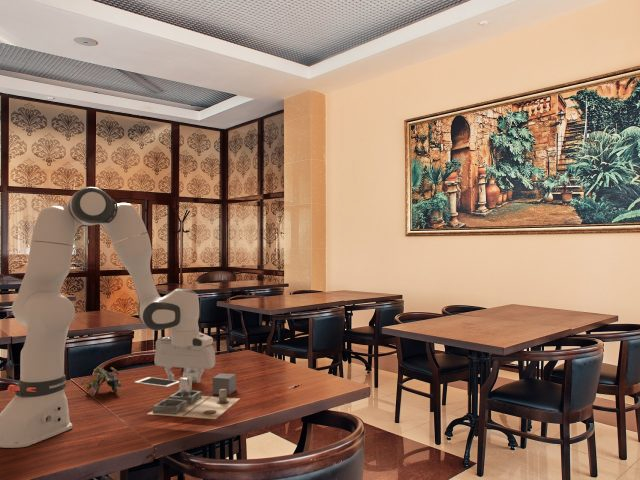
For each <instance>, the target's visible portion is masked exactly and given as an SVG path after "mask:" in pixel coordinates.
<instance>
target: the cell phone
mask: <svg viewBox="0 0 640 480" xmlns="http://www.w3.org/2000/svg"><path fill="white" fill-rule="evenodd" d="M134 383H135V384H143V385H149V386H157V387H162V388H163V387H164V388H169V387H172V386H175V385H176V384H177V385H178V384H179V380H175V379H174V380H168V378H167V379H166V378H160V377H159V378H158V377H153V376H152V377H151V376H148V377H144V378H142V379H138V380H136V381H134Z"/></svg>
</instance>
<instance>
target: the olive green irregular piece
mask: <svg viewBox="0 0 640 480" xmlns="http://www.w3.org/2000/svg"><path fill="white" fill-rule="evenodd" d="M110 370H112V372H109V371H107V370H105V369H104V368H101V367H99V366H98V367H97V370H96V369H95V368H94V369H93V373H94V374H96V375H97V376H96V379H93V380H92V381H90V382H87V381H85V379H82V380H81V383H80V385H81V386H83V385H84V384H83V383H85V384H87V386H86V393H88V392H89V390H91V388H92V387H93V394H92V396H91V398H93V397H94V396H95V395H96V393H97V392H98V391H99V390H100V386H102V385H103V383H104V382H106V384H107V385H108V386H109V387H111V391H113V393H114V392H115V393H116V392H118V391H119V390H118V388H121V387H122V384H121V381H120V379H119V378H117V377H116V375H118V376H119V374H120V372H119V371H118V370H117V369H116V368H114V367H112V366H111V367H110ZM115 374H116V375H115ZM117 387H118V388H117Z"/></svg>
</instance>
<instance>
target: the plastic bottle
mask: <svg viewBox="0 0 640 480" xmlns="http://www.w3.org/2000/svg"><path fill="white" fill-rule="evenodd" d="M182 372H183V373H182V377H191V378H192V384H196V383H197V384H199V383H200V382H194V380H195V379H194V377H195V376H197V375H198V374H199V372H198V369H196V368H184V371H182Z"/></svg>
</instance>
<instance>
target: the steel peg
mask: <svg viewBox="0 0 640 480" xmlns="http://www.w3.org/2000/svg"><path fill="white" fill-rule="evenodd" d="M178 381H179V383H178V385H179V386H178V391H179V396H181V397H191V396H192V391H193V387H192V386H193V385H192V384H193V383H192V378H191V377H183V376H182V377H179V379H178Z"/></svg>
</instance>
